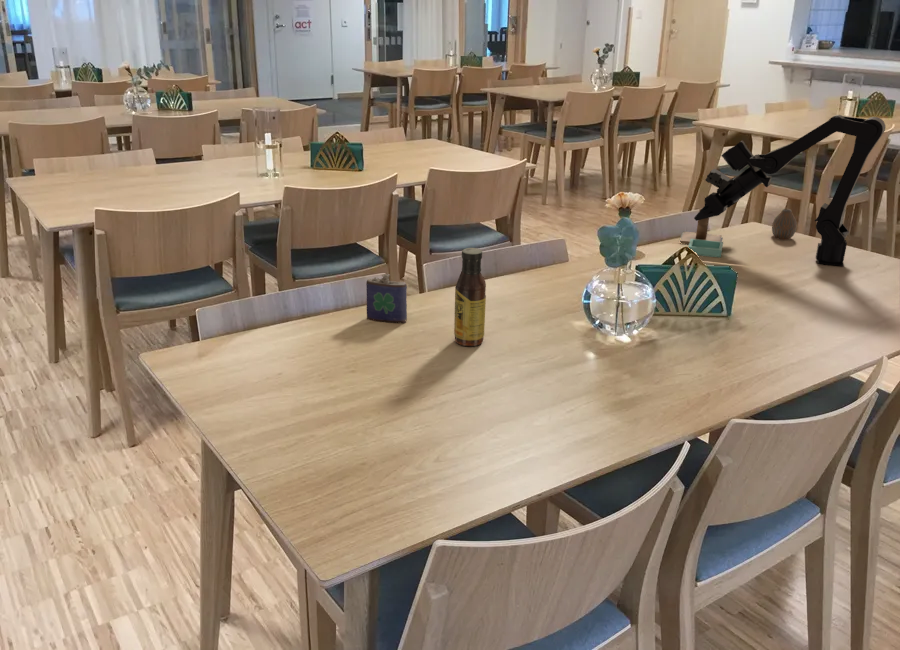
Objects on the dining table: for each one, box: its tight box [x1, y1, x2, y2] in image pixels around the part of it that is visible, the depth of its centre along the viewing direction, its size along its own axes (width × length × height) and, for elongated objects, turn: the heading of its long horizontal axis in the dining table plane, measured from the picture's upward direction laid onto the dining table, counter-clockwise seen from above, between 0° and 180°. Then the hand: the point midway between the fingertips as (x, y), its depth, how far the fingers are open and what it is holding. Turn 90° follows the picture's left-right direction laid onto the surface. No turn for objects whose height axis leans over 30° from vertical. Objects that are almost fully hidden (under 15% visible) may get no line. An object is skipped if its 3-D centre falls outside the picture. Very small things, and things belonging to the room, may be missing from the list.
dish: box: [687, 239, 724, 259], centre depth 229 cm, size 9×9×2 cm
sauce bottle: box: [453, 247, 487, 347], centre depth 163 cm, size 6×6×20 cm
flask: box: [365, 273, 408, 324], centre depth 176 cm, size 9×3×11 cm, turn 74°
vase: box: [771, 208, 798, 241], centre depth 244 cm, size 7×7×9 cm
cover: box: [679, 207, 722, 245], centre depth 238 cm, size 11×11×10 cm
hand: (699, 216), depth 238 cm, fingers open, 9 cm apart
